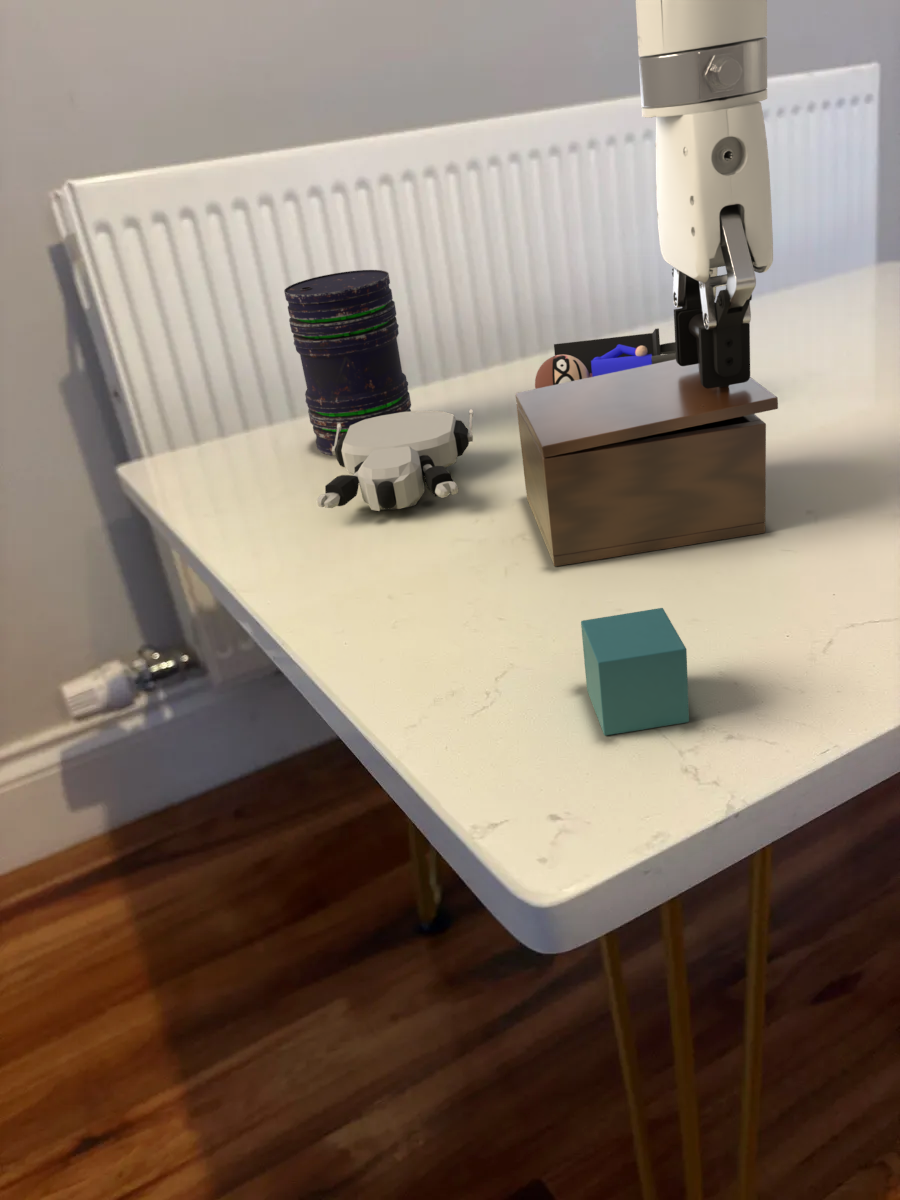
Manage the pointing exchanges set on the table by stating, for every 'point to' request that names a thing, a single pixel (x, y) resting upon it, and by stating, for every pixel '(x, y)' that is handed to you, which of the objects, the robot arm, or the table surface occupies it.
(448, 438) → the robot toy
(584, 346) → the character figurine
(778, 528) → the table surface
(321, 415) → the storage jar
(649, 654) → the cube
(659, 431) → the lid
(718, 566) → the table surface
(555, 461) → the box
